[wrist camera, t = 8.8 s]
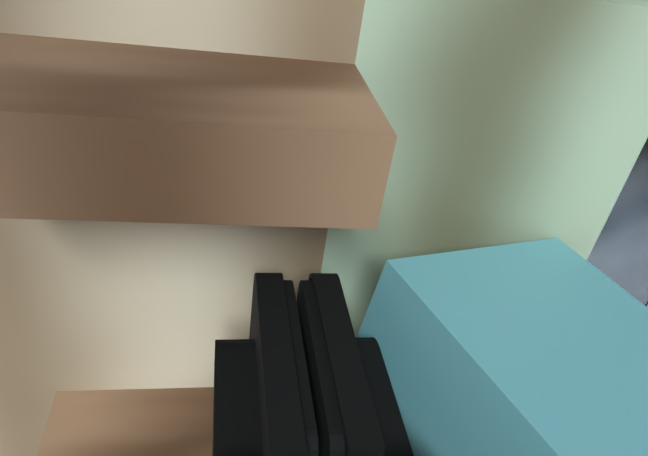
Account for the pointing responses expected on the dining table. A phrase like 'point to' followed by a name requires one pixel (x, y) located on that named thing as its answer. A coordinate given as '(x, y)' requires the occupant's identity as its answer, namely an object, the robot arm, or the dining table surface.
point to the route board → (272, 177)
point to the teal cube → (513, 353)
